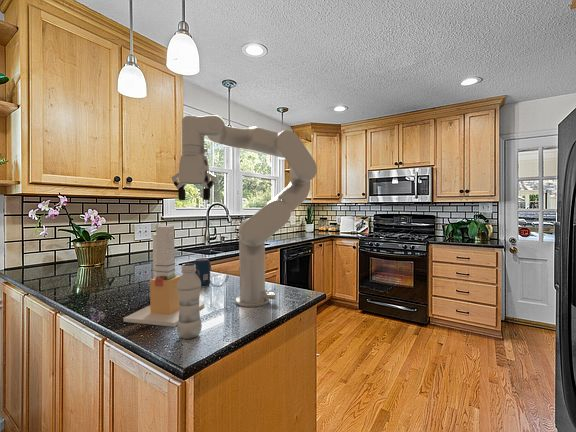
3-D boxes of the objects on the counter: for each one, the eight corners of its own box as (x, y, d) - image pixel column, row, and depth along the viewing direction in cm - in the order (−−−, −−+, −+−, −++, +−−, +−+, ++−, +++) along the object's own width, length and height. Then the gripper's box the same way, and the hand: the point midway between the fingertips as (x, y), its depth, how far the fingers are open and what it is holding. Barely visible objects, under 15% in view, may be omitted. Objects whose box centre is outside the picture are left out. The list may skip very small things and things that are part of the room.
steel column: (175, 290, 102) (174, 225, 101) (168, 294, 98) (166, 226, 97) (164, 289, 103) (163, 225, 102) (156, 293, 99) (155, 226, 98)
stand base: (204, 306, 108) (203, 270, 107) (174, 326, 90) (173, 283, 89) (160, 303, 112) (159, 268, 111) (123, 321, 94) (122, 280, 93)
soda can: (192, 285, 137) (191, 259, 136) (206, 282, 141) (206, 257, 141) (198, 288, 131) (197, 261, 131) (212, 285, 136) (212, 259, 135)
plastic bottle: (172, 341, 80) (171, 267, 80) (184, 330, 87) (183, 262, 86) (194, 342, 79) (193, 267, 79) (205, 332, 86) (205, 263, 85)
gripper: (220, 152, 109) (221, 200, 110) (178, 154, 113) (178, 200, 114) (210, 149, 102) (211, 199, 102) (165, 151, 106) (166, 200, 106)
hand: (194, 200), depth 108 cm, fingers open, 9 cm apart
